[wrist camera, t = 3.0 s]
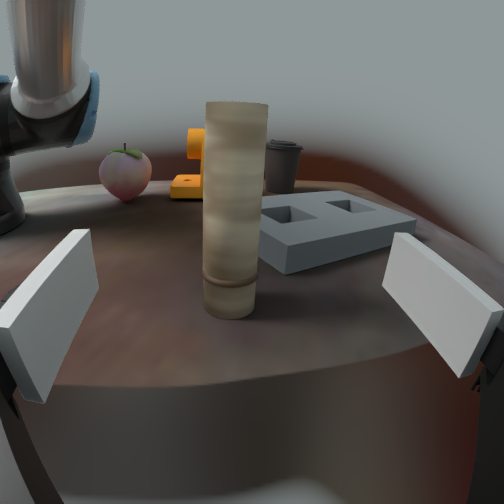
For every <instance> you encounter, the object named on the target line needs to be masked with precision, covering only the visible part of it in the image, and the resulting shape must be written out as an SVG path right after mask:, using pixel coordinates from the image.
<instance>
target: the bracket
mask: <svg viewBox="0 0 504 504" xmlns="http://www.w3.org/2000/svg"><path fill="white" fill-rule="evenodd" d="M204 143H205V129H189V130H188V138H187V157H188V159H201V175H178V176H176V178H175V179H174V181H173V182H172V184H171V185H170V197H172V198H203V179H204Z"/></svg>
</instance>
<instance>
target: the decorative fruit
mask: <svg viewBox="0 0 504 504" xmlns="http://www.w3.org/2000/svg"><path fill="white" fill-rule="evenodd" d="M125 145H126V143H124V149H116V150H112V151H111V152H109V154H108V156H107V157H106V158H105V159H104V160H103V161H102V163H101V166H100V168H99V177H100V180H101V182H102V184H103V185H104V187H105V188H106V189H107V190H108V191H109V192H110V193H111V194H112V195H114V196H115V197H117V198H119V199H121V200H124V201H129V200H131V199H133V198H134V197H136V196H137V195H139V194H140V193H142V192H143V191H144V189H145V188H146V186H147V185H148V182H149V180H150V177H151V171H152V167H151V163H150V161H149V159H148V158H147V157H146V156H145V155H144V154H143V153H141V151H140V150H138V149H128V150H126V146H125Z"/></svg>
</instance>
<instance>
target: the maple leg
mask: <svg viewBox="0 0 504 504" xmlns="http://www.w3.org/2000/svg"><path fill="white" fill-rule="evenodd" d="M267 118H268V105H266V104H260V103H248V102H207V103H206V117H205V143H204V179H203V265H202V277H203V296H204V308H205V310H206V311H207V312H208V313H209V314H211V315H212V316H215V317H217V318H221V319H239V318H242V317H245V316H247V315H249V314H250V313H251V312H252V311H253V309H254V304H255V291H256V280H257V278H258V266H257V263H258V249H259V235H260V221H261V207H262V193H263V178H264V163H265V148H266V132H267Z"/></svg>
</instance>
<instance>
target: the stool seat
mask: <svg viewBox="0 0 504 504" xmlns="http://www.w3.org/2000/svg"><path fill="white" fill-rule="evenodd" d="M416 222H417V219H415V218H412V217H410V216H407V215H405V214H402V213H400V212H397V211H395V210H392V209H389V208H387V207H384V206H381V205H379V204H376V203H373V202H370V201H368V200H365V199H362V198H359V197H356V196H354V195H351V194H348V193H345V192H342V191H324V192H310V193H297V194H285V195H274V196H263V197H262V207H261V221H260V235H259V249H258V257H259V258H261V259H262V260H264V261H265V262H266V263H268V264H269V265H271V266H272V267H274V268H275V269H276V270H278V271H279V272H281V273H282V274H283V275H287V274H291V273H294V272H298V271H302V270H306V269H309V268H313V267H316V266H320V265H324V264H327V263H331V262H335V261H338V260H342V259H345V258H349V257H352V256H356V255H359V254H363V253H366V252H370V251H373V250H377V249H380V248H383V247H387V246H390V245H392V243H393V238H394V234H395V232H398V233H409V234H410V235H411V236H413V235H414V231H415V227H416Z"/></svg>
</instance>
